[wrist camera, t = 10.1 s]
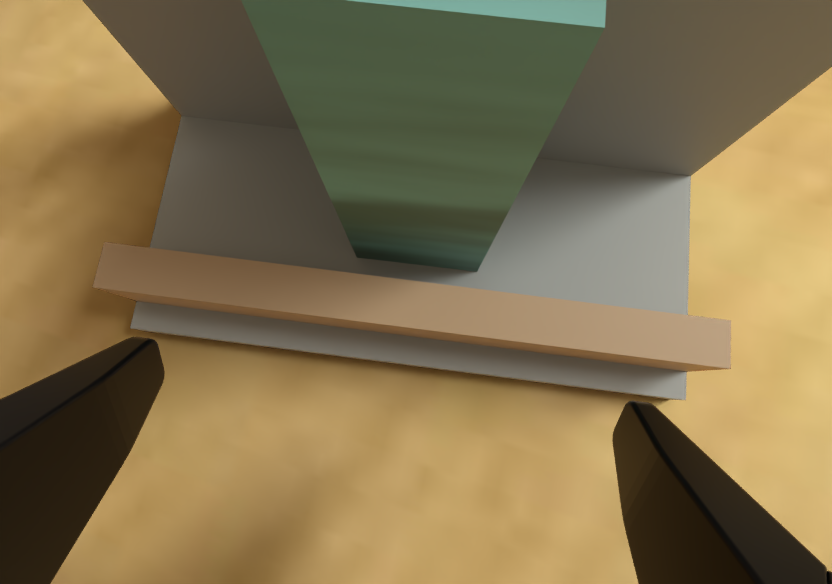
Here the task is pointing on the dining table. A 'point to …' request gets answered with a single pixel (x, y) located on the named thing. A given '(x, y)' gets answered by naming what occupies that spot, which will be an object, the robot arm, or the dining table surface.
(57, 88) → the dining table surface
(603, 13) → the teal block
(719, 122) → the grey bookend
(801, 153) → the dining table surface
